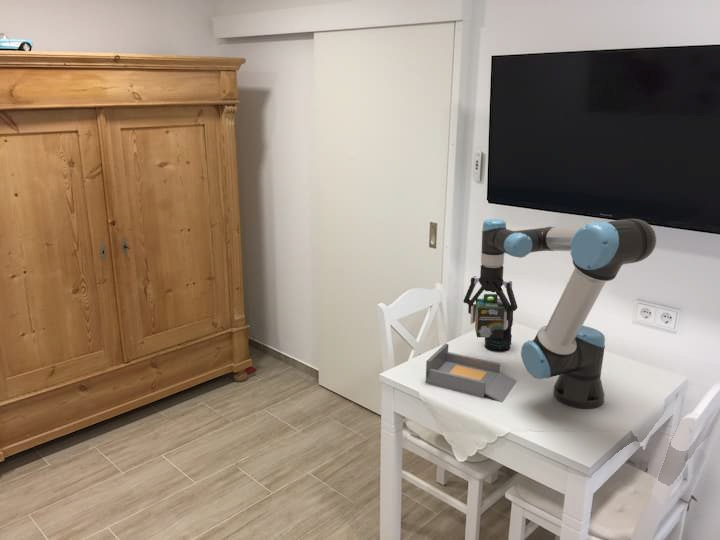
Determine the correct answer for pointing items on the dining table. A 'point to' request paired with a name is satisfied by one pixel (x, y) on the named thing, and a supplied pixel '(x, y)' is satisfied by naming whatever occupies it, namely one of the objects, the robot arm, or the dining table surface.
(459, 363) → the dock bay
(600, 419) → the dining table surface
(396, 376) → the dining table surface
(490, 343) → the storage jar
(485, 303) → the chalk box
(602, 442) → the dining table surface
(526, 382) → the dining table surface
